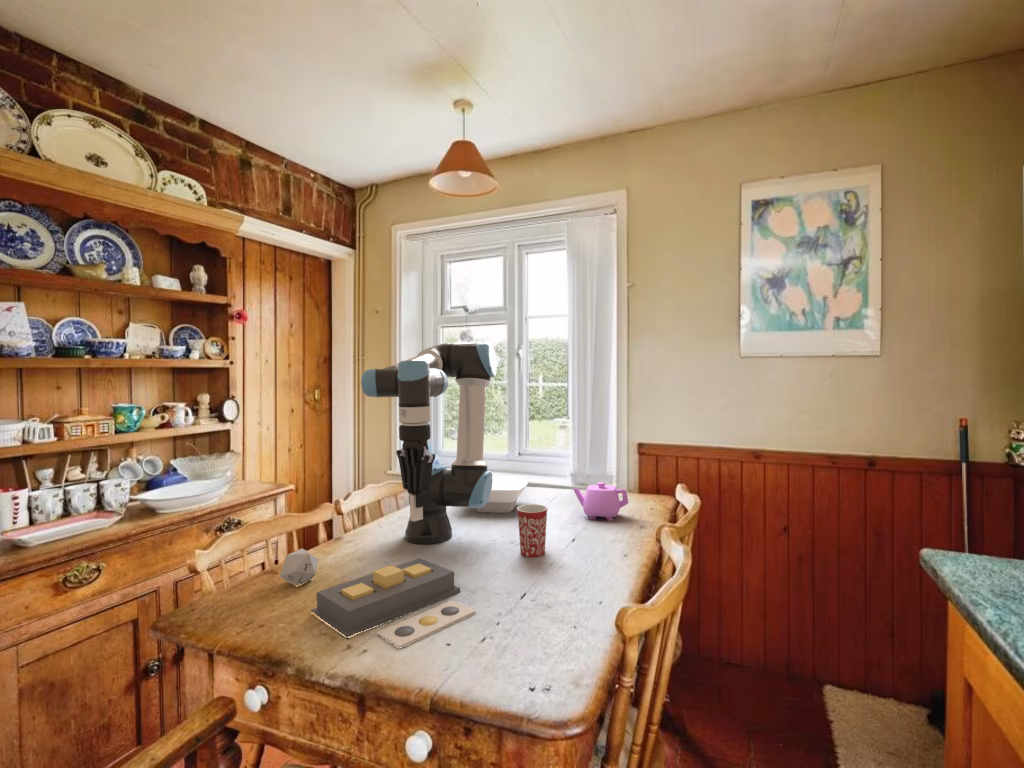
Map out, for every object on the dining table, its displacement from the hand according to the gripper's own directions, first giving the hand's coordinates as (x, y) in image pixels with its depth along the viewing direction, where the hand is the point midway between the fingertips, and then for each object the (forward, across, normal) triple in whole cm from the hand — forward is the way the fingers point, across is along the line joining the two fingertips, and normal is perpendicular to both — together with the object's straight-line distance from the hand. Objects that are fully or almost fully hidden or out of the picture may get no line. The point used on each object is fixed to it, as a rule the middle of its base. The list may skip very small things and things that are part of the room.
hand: (416, 519), depth 125 cm
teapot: (+19, -3, +84) cm, 87 cm away
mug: (+18, +3, +40) cm, 45 cm away
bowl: (+19, -41, +67) cm, 81 cm away
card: (+18, +15, -8) cm, 25 cm away
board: (+18, 0, -8) cm, 20 cm away
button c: (+16, 0, -1) cm, 16 cm away
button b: (+14, 0, -8) cm, 16 cm away
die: (+18, -27, -18) cm, 37 cm away
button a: (+16, 0, -17) cm, 23 cm away
